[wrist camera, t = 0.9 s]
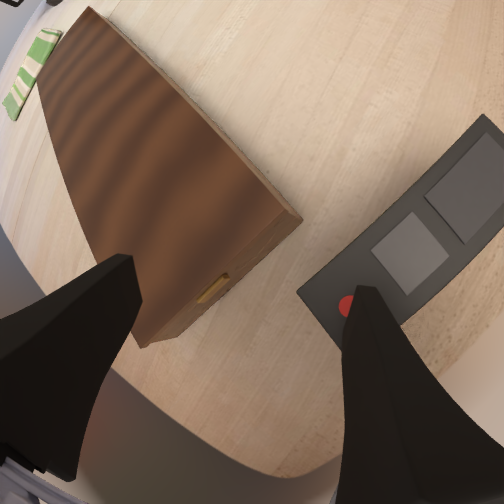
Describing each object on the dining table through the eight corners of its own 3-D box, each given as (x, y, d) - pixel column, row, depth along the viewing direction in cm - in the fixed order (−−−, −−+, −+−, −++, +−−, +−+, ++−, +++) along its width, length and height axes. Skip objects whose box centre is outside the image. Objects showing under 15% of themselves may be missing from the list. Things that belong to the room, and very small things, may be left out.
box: (308, 222, 25) (287, 211, 20) (177, 341, 30) (141, 350, 25) (107, 17, 43) (88, 5, 38) (55, 86, 47) (35, 77, 43)
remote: (473, 134, 13) (483, 110, 10) (525, 191, 12) (544, 176, 9) (310, 288, 16) (293, 291, 14) (358, 350, 15) (349, 365, 13)
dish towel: (7, 105, 62) (-1, 102, 60) (48, 30, 58) (41, 26, 55) (16, 122, 55) (7, 119, 53) (66, 33, 51) (57, 28, 48)
